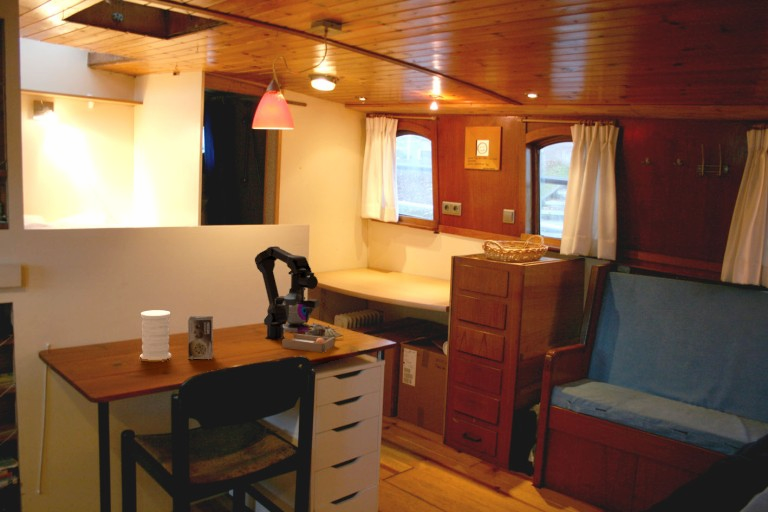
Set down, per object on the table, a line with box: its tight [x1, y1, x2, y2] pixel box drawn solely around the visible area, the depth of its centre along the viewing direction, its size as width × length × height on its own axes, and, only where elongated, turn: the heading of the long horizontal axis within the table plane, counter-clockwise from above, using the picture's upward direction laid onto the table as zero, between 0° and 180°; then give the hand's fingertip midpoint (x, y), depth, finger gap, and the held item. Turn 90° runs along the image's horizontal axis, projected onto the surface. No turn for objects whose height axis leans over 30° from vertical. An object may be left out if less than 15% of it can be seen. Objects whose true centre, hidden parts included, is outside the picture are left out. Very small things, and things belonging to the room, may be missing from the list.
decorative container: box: [139, 309, 172, 360], centre depth 255 cm, size 12×12×18 cm
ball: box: [316, 338, 325, 344], centre depth 281 cm, size 4×4×4 cm
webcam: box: [283, 304, 311, 333], centre depth 313 cm, size 13×13×15 cm
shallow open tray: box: [281, 333, 336, 353], centre depth 282 cm, size 19×12×4 cm, turn 72°
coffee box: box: [187, 315, 214, 360], centre depth 258 cm, size 9×6×16 cm
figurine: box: [303, 321, 343, 339], centre depth 301 cm, size 20×6×17 cm
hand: (296, 321), depth 283 cm, fingers open, 9 cm apart
